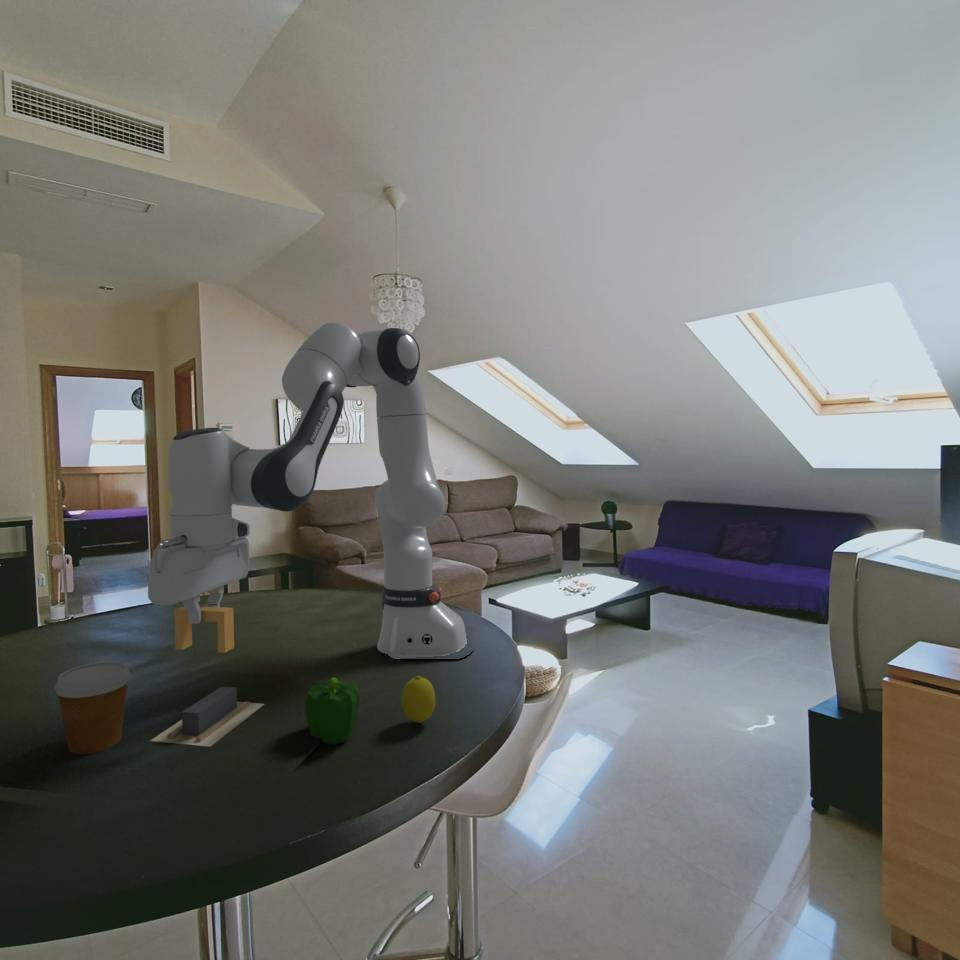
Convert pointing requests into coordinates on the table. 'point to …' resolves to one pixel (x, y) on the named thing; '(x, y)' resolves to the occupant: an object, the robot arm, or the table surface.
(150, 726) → the table surface
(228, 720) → the board
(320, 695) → the bell pepper
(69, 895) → the table surface
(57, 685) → the disposable coffee cup
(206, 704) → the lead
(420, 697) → the lemon
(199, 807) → the table surface
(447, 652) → the robot arm
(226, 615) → the wooden arch block
